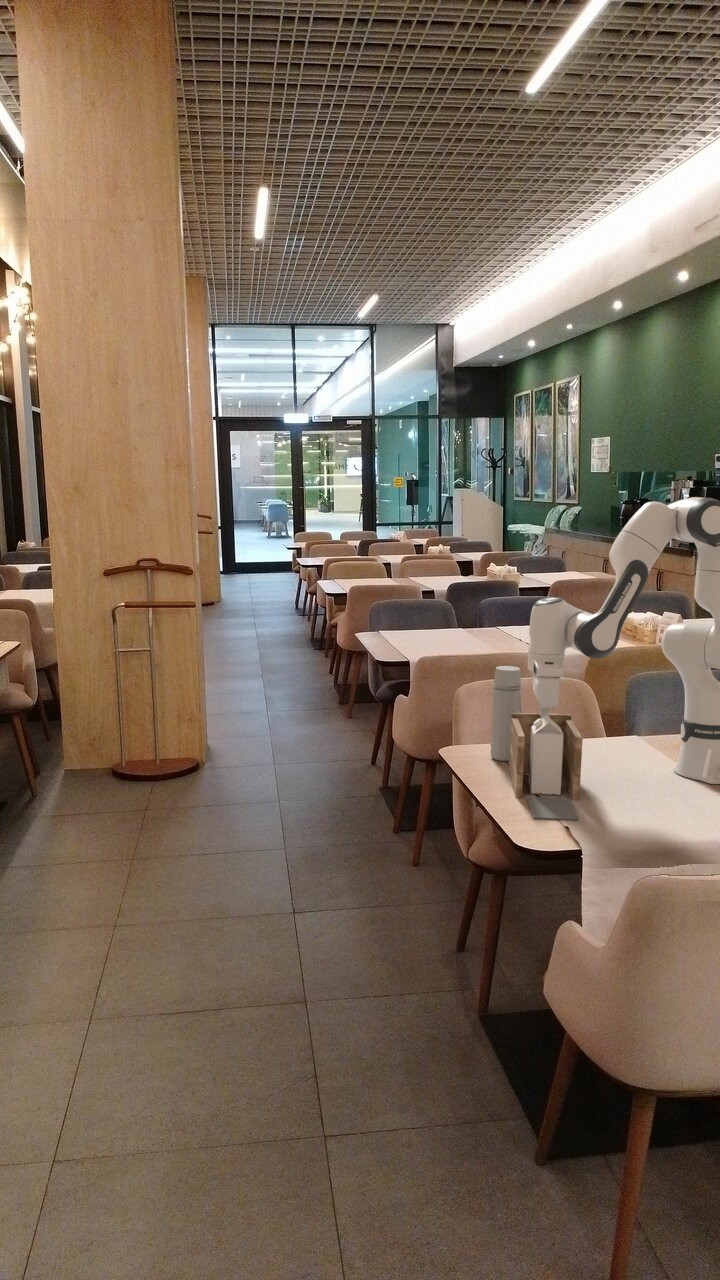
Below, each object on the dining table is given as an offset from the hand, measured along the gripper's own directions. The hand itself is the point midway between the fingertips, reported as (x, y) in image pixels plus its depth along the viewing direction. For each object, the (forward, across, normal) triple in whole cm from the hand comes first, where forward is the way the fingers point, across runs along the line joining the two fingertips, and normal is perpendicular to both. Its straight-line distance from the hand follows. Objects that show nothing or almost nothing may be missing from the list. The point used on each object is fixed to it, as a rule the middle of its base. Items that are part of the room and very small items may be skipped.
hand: (543, 717), depth 239 cm
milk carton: (+16, +8, 0) cm, 18 cm away
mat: (+16, +22, 0) cm, 27 cm away
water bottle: (+16, -18, -7) cm, 25 cm away
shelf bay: (+16, +5, 0) cm, 17 cm away
